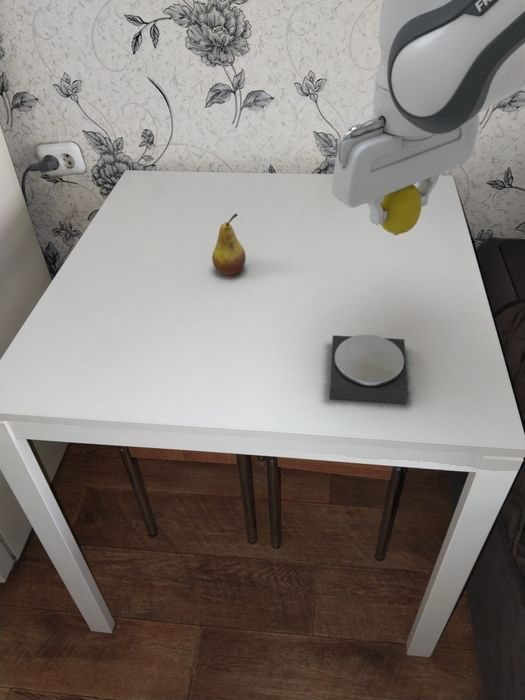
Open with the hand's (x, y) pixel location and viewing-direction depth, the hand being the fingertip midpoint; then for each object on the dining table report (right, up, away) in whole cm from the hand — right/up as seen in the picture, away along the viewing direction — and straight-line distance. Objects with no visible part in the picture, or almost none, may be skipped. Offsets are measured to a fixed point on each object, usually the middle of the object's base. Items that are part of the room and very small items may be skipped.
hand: (399, 213), depth 77 cm
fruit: (-23, -4, +23) cm, 33 cm away
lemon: (0, -2, +2) cm, 4 cm away
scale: (-3, -21, +5) cm, 22 cm away
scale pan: (-3, -19, +3) cm, 20 cm away
